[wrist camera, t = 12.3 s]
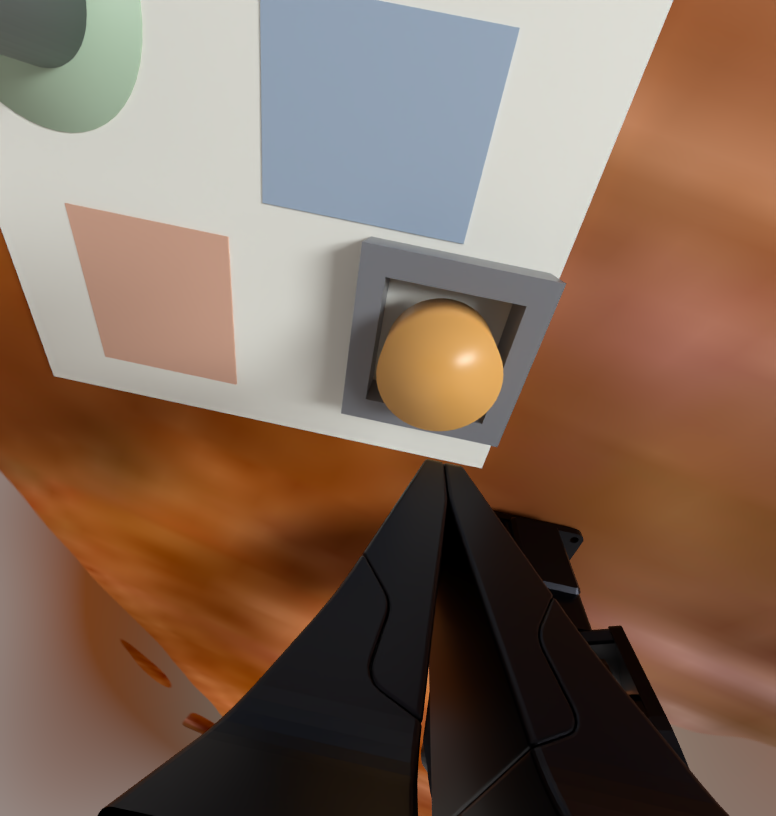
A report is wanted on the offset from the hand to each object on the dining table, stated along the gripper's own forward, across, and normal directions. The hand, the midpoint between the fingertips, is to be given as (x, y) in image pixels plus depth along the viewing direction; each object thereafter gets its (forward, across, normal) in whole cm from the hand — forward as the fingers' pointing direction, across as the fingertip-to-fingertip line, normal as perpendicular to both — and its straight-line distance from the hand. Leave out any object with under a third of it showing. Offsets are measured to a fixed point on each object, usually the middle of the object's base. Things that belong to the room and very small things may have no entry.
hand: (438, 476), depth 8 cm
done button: (+7, 0, 0) cm, 7 cm away
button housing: (+9, 0, 0) cm, 9 cm away
